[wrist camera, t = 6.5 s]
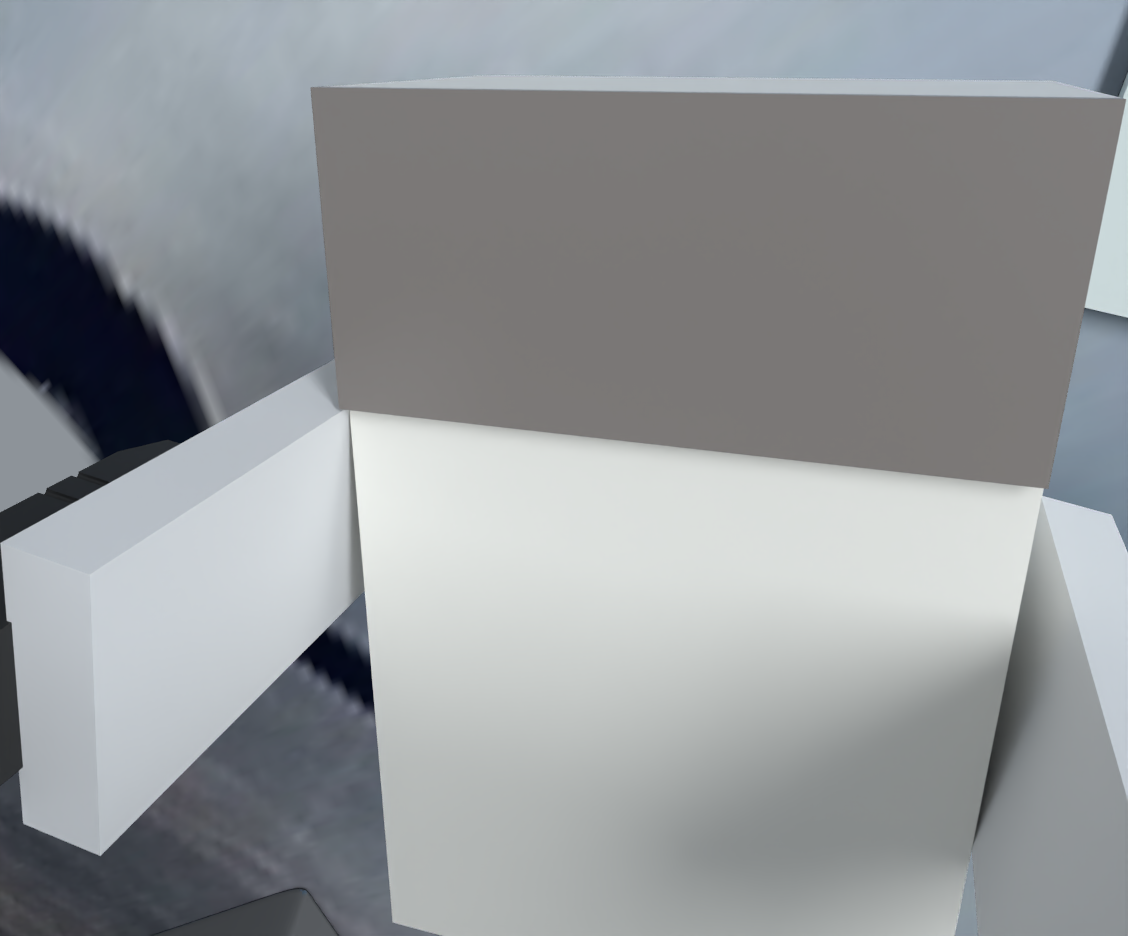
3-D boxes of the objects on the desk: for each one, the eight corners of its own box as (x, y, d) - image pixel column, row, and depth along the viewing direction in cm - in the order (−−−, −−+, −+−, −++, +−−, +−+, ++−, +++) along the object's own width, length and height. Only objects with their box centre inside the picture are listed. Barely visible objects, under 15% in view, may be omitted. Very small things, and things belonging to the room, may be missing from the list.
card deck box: (924, 820, 15) (928, 1081, 11) (503, 735, 17) (385, 934, 13) (1052, 80, 11) (1125, 99, 7) (486, 75, 13) (310, 87, 9)
